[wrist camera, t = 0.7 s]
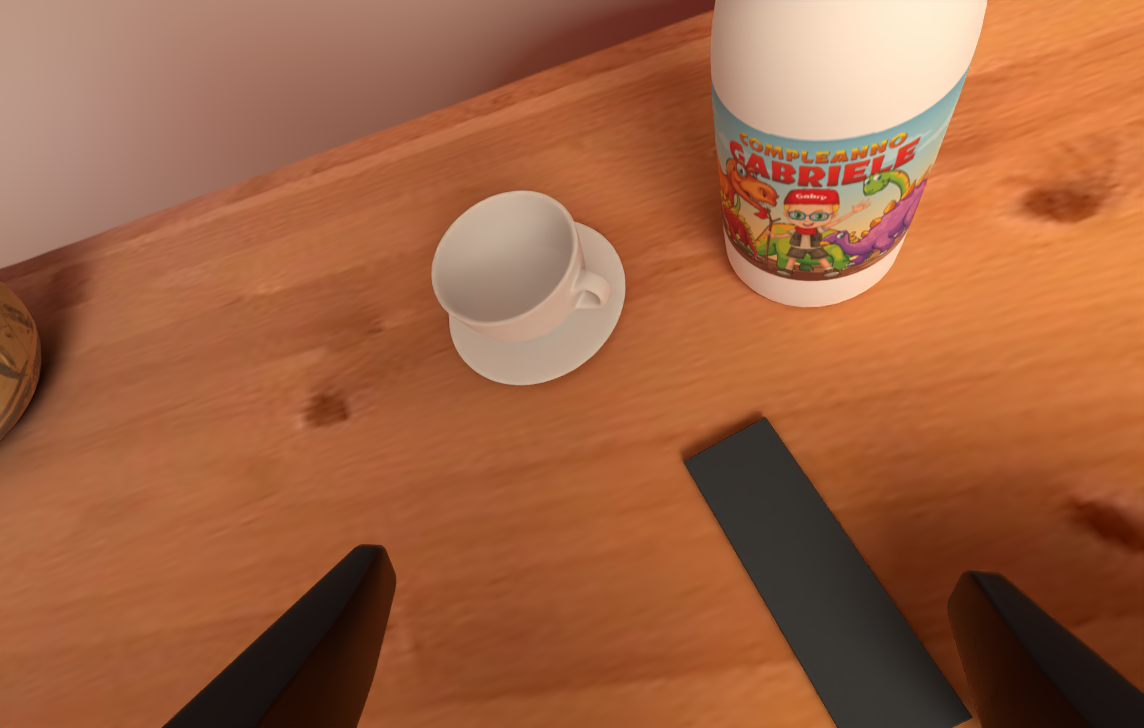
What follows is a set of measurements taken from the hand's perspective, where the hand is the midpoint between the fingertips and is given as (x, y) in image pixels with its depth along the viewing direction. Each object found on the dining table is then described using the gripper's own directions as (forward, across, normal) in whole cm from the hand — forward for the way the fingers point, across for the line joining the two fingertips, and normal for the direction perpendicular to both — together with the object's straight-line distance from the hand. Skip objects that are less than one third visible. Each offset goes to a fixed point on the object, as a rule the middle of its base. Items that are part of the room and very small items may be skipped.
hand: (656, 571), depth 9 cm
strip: (+9, -6, +12) cm, 16 cm away
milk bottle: (+21, -8, +3) cm, 23 cm away
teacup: (+21, +6, +6) cm, 23 cm away
